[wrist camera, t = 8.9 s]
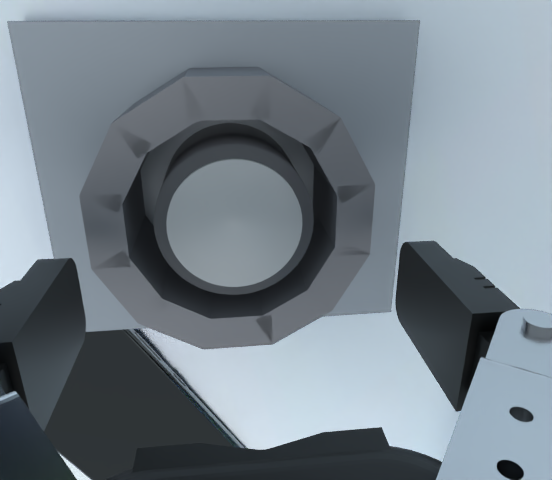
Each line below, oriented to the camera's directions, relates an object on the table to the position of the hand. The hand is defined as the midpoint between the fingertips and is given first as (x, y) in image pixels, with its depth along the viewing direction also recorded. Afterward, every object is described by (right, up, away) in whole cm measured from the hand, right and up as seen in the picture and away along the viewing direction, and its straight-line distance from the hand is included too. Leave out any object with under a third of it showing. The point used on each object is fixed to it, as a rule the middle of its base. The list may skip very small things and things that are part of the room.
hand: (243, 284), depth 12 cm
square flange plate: (-1, +4, +8) cm, 9 cm away
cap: (-1, +3, +7) cm, 8 cm away
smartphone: (-6, -8, +13) cm, 17 cm away
